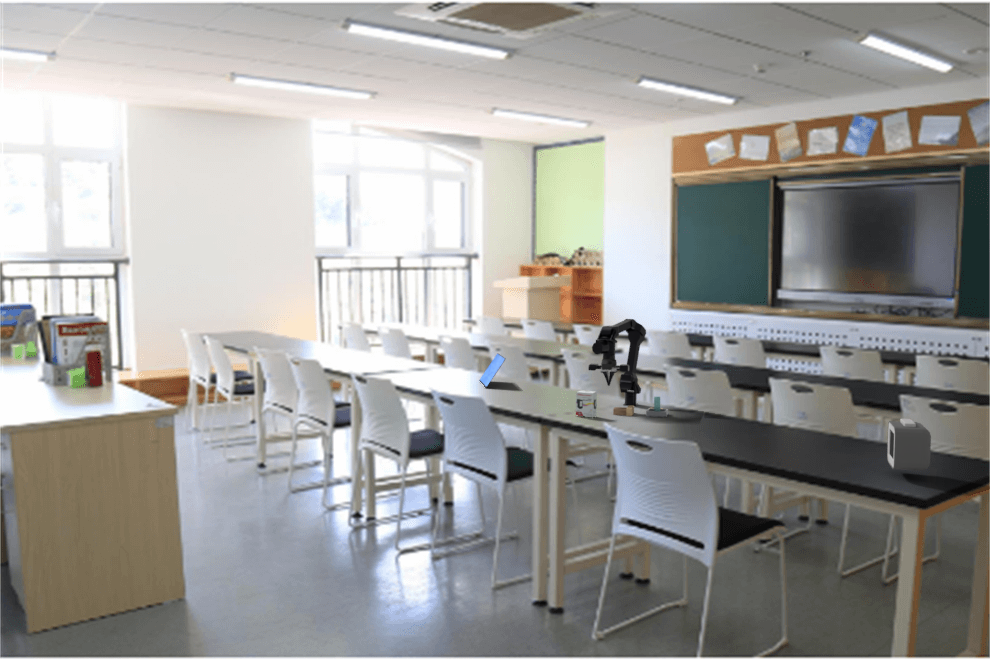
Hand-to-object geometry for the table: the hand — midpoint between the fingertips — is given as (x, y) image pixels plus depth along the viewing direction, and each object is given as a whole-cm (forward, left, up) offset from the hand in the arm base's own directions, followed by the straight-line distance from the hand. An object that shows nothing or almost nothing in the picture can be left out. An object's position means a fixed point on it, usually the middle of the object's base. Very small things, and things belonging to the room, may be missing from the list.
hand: (608, 385), depth 412 cm
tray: (+7, +24, -12) cm, 27 cm away
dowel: (+7, +24, -11) cm, 27 cm away
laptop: (-60, -86, -13) cm, 105 cm away
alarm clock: (+89, +116, -12) cm, 147 cm away
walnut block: (+8, +7, -12) cm, 16 cm away
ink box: (+21, -7, -12) cm, 25 cm away
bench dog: (+8, +11, -12) cm, 18 cm away
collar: (-2, +22, -12) cm, 25 cm away
